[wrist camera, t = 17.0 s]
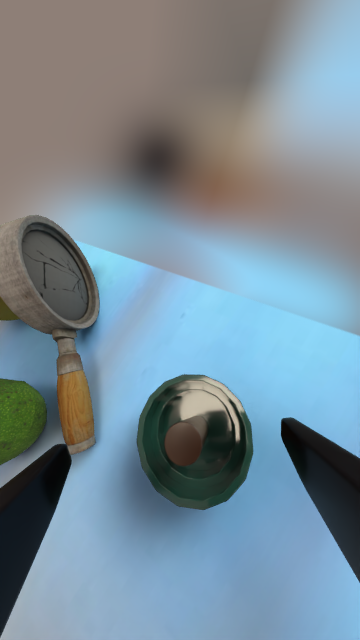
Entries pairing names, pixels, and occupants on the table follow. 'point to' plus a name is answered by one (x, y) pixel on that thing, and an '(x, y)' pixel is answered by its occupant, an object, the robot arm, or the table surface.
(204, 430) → the stirring stick
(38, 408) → the fruit
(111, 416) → the table surface
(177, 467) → the bowl
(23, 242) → the magnifying glass
